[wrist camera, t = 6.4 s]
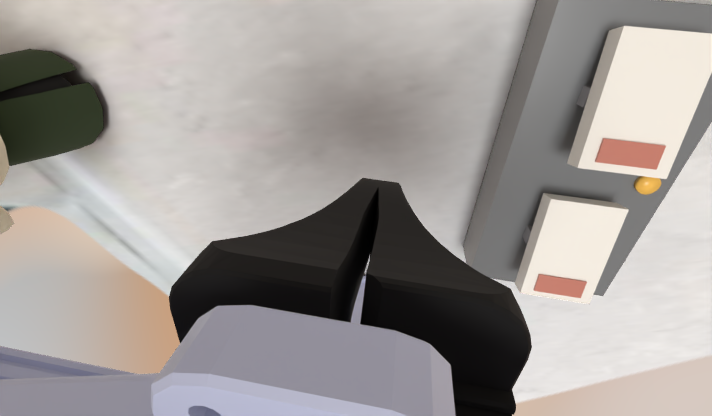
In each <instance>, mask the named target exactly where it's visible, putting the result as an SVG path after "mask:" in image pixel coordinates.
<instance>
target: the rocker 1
mask: <svg viewBox="0 0 712 416" xmlns="http://www.w3.org/2000/svg"><path fill="white" fill-rule="evenodd" d="M628 211H629V209H627V208H625V207H623V206H622V205H620V204H618V203H615V202H607V201H600V200H592V199H585V198H578V197H570V196H563V195H555V194H548V193H543V196H542V199H541V202H540V205H539V208H538V211H537V215H536V218H535V221H534V224H533V227H532V230H531V233H530V237H529V240H528V243H527V246H526V249H525V252H524V256H523V259H522V262H521V265H520V268H519V271H518V274H517V278H516V281H515V285H516V286H517V288H518V290H519V292H520V293H522V294H528V295H534V296H540V297H547V298H553V299H559V300H565V301H571V302H577V303H584V304H589V303H590V301H591V299H592V296H593V294H594V292H595V289H596V287H597V284H598V282H599V280H600V277H601V275H602V273H603V270H604V268H605V265H606V263H607V261H608V258H609V256H610V253H611V251H612V249H613V246H614V244H615V242H616V239H617V237H618V234H619V232H620V230H621V227H622V225H623V223H624V220H625V218H626V215H627V213H628Z"/></svg>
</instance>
